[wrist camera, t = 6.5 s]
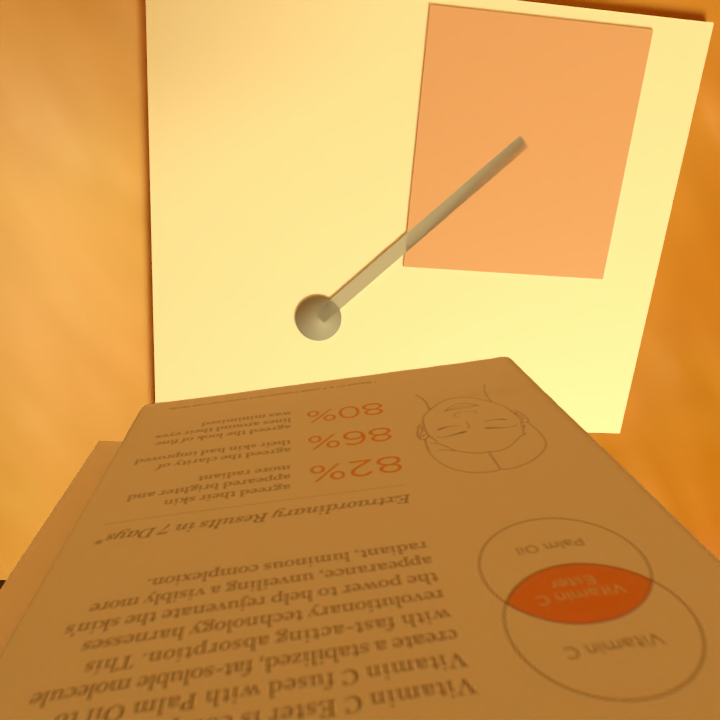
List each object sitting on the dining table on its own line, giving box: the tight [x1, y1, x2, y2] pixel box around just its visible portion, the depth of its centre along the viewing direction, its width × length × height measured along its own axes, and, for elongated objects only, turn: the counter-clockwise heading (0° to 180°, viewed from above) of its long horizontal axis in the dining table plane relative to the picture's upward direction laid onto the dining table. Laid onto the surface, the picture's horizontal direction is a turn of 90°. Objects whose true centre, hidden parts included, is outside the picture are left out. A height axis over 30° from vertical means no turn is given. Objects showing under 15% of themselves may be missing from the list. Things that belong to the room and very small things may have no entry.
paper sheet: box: [146, 0, 714, 433], centre depth 27 cm, size 22×18×1 cm
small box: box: [0, 357, 720, 720], centre depth 9 cm, size 8×6×10 cm
